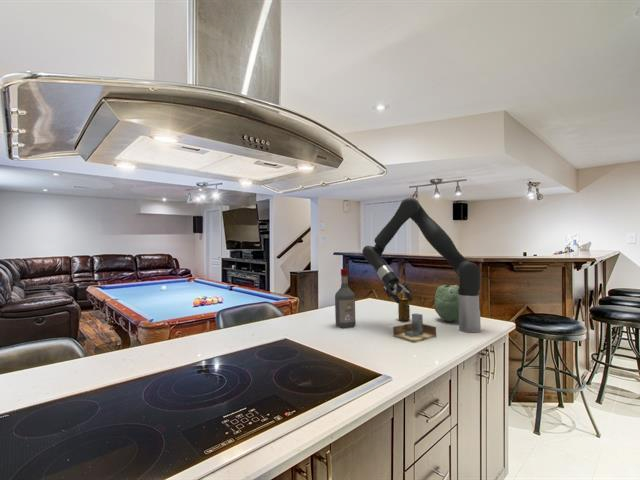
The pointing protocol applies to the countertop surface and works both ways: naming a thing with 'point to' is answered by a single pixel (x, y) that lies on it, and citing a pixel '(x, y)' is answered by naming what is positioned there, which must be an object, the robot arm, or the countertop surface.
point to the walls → (408, 327)
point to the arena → (416, 338)
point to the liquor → (345, 303)
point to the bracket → (416, 326)
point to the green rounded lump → (447, 302)
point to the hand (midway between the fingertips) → (405, 301)
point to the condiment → (404, 310)
